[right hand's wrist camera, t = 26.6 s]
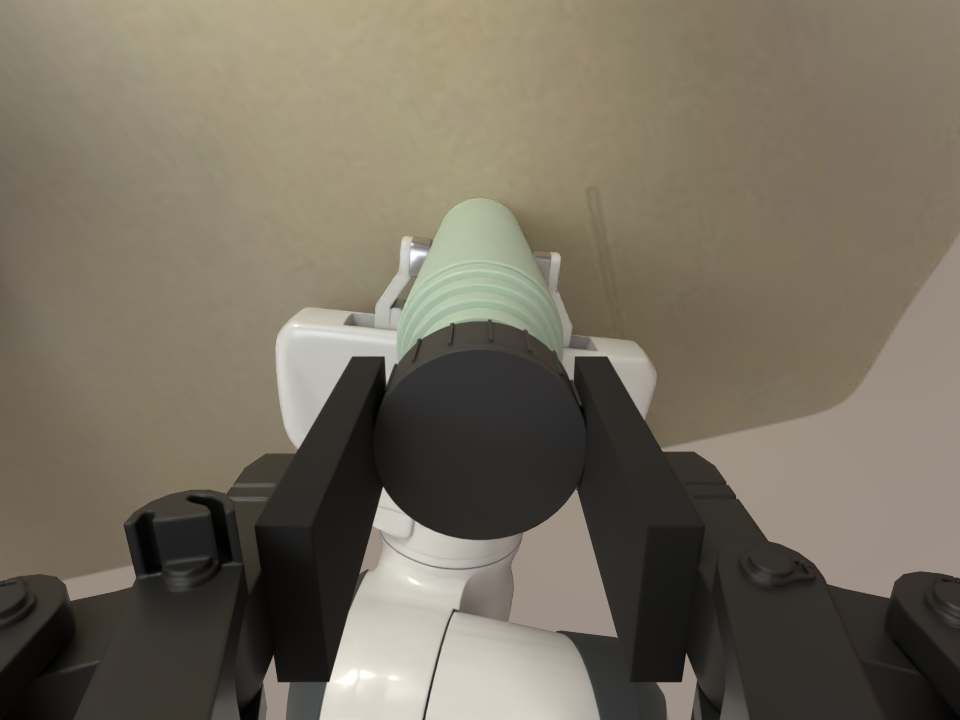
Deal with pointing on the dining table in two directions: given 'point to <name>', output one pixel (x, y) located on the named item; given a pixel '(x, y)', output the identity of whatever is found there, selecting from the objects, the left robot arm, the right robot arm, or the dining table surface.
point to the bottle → (479, 279)
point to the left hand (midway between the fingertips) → (480, 245)
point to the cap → (480, 432)
